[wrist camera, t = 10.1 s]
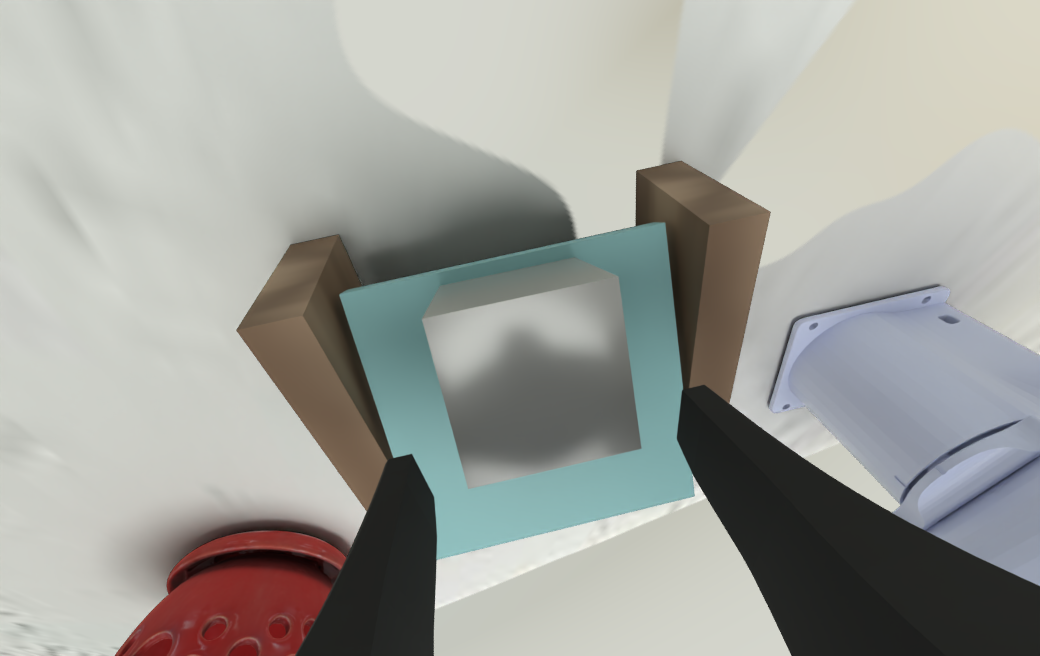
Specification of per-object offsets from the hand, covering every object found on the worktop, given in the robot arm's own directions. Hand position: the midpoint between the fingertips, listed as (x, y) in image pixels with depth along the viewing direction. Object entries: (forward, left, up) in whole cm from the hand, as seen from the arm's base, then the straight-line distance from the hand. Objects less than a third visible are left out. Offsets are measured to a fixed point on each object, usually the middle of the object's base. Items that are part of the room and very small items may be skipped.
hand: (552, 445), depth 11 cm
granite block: (0, +1, -6) cm, 6 cm away
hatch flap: (0, +5, -8) cm, 9 cm away
